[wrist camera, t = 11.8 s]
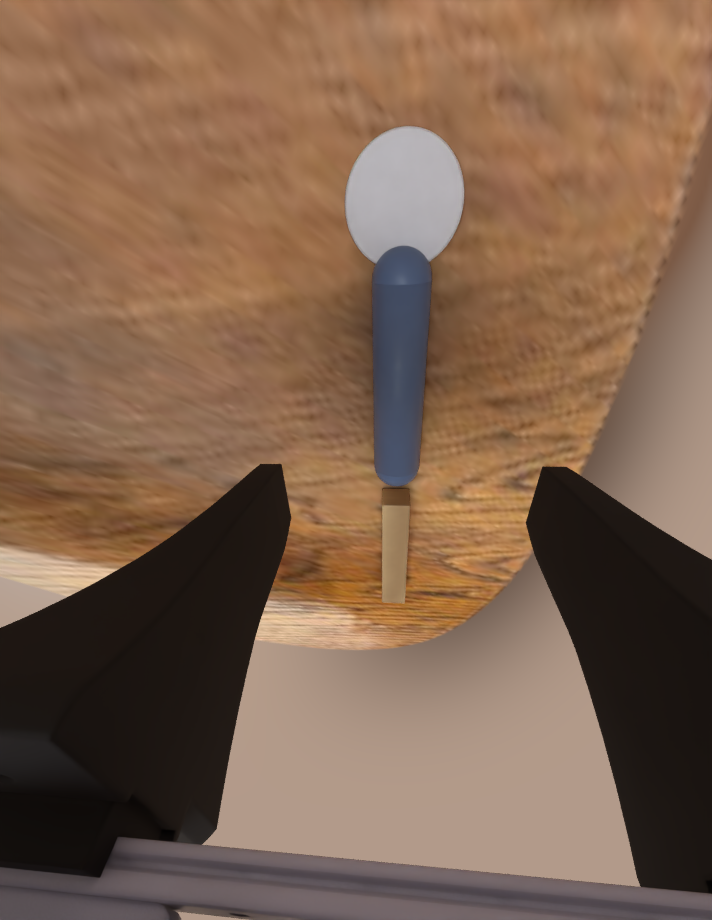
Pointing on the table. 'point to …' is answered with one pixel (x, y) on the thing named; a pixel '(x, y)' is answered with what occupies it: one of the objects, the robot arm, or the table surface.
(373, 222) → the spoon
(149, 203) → the table surface
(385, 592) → the baton
